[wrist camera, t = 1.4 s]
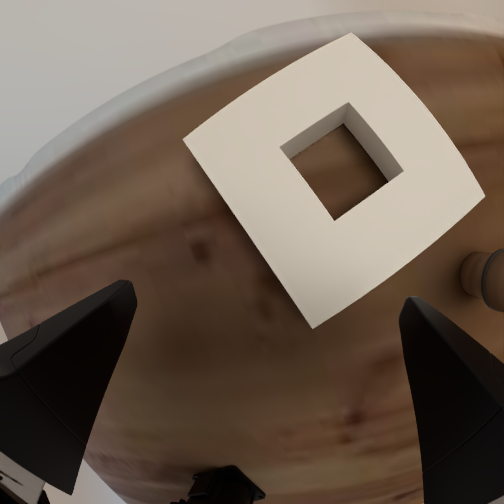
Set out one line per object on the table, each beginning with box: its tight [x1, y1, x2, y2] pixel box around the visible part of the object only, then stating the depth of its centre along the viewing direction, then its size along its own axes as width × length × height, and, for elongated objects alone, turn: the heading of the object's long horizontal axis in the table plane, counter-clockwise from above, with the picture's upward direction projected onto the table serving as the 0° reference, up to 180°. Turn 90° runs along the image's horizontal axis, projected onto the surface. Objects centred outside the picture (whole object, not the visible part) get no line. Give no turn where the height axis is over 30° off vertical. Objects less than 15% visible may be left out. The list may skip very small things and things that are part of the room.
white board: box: [183, 33, 485, 329], centre depth 19 cm, size 16×16×4 cm
